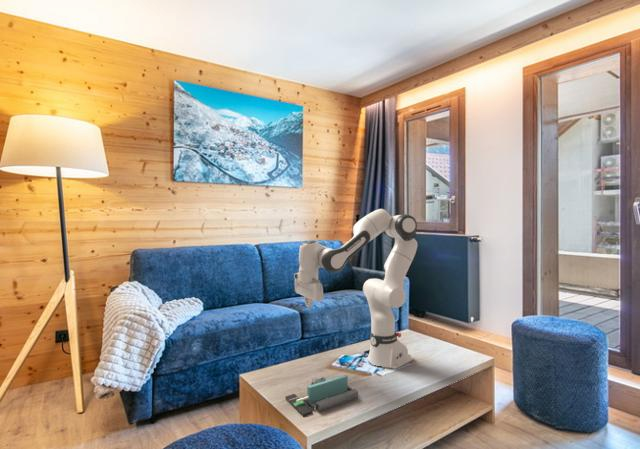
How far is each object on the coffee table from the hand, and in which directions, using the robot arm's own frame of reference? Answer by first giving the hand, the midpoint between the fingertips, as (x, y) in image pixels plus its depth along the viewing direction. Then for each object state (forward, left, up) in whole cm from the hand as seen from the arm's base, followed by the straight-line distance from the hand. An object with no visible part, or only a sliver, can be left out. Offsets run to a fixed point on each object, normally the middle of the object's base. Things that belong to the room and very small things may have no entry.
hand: (308, 306), depth 168 cm
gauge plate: (+8, +25, -29) cm, 39 cm away
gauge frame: (+8, +25, -29) cm, 39 cm away
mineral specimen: (+5, +18, -29) cm, 35 cm away
